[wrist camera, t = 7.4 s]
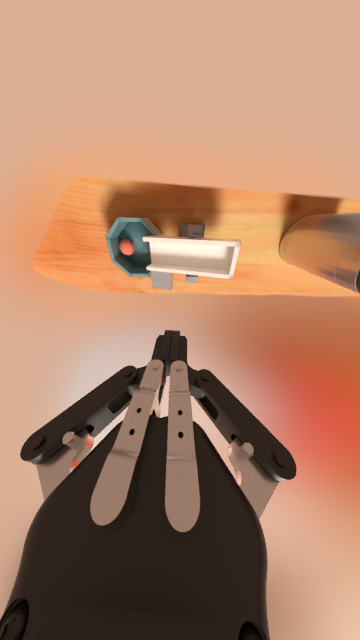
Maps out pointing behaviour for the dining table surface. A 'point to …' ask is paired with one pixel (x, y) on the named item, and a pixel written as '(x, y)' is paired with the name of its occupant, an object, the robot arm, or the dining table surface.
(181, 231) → the lever stand
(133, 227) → the teal octagonal bowl
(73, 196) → the dining table surface
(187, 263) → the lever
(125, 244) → the ball
